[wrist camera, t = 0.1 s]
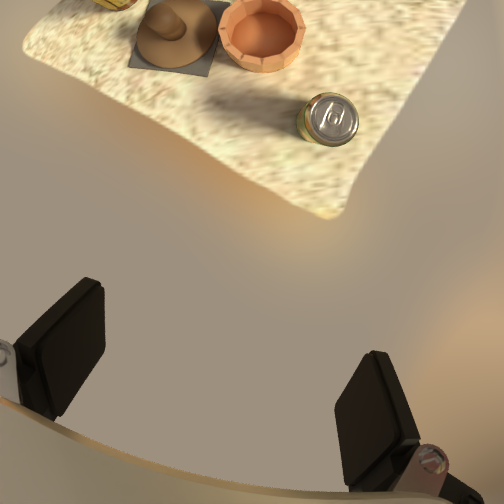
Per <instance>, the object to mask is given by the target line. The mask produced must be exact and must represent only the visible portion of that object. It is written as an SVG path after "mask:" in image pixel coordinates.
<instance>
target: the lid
mask: <svg viewBox="0 0 504 504" xmlns="http://www.w3.org/2000/svg"><path fill="white" fill-rule="evenodd" d="M216 34H217V22H216V18H215V16H214V14H213V12H212V11H211V9H210V8H209V7H208V6H207V5H206V4H205V3H203V2H202V1H200V0H166V1H164V2H162V3H160V4H157V5H154V6H152V7H151V8H150V9H149V10H148V11H147V12H146V14H145V17H144V18H143V20H142V22H141V23H140V26H139V28H138V32H137V46H138V49H139V51H140V53H141V55H142V56H143V57H144V58H145V59H146V60H147V61H149V62H150V63H152V64H154V65H156V66H159V67H162V68H168V69H175V68H181V67H185V66H188V65H190V64H192V63H194V62H196V61H197V60H199V59H200V58H202V57H203V56H204V55H205V54H206V53H207V52H208V51H209V49H210V48H211V46H212V45H213V43H214V41H215V38H216Z"/></svg>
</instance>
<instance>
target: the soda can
mask: <svg viewBox="0 0 504 504" xmlns="http://www.w3.org/2000/svg"><path fill="white" fill-rule="evenodd" d="M358 125H359V117H358V113H357V110H356V108H355V107H354V105H353V104H352V103H351V101H350V100H348V99H347V98H346V97H344V96H342V95H340V94H337V93H331V92H329V93H322V94H319V95H317V96H315V97H314V98H313V99H312V100H310V101H309V102H308V103H307V104H306V105H305V106H304V107H303V108H302V109H301V110H300V112H299V113H298V116H297V119H296V126H297V130H298V132H299V134H300V135H301V136H302V137H303V138H304V139H305V140H307V141H308V142H311V143H315V144H320V145H324V146H329V147H337V146H341V145H344V144H346V143H348V142H349V141H350V140H351V139H352V138H353V137H354V136H355V134H356V132H357V130H358Z"/></svg>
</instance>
